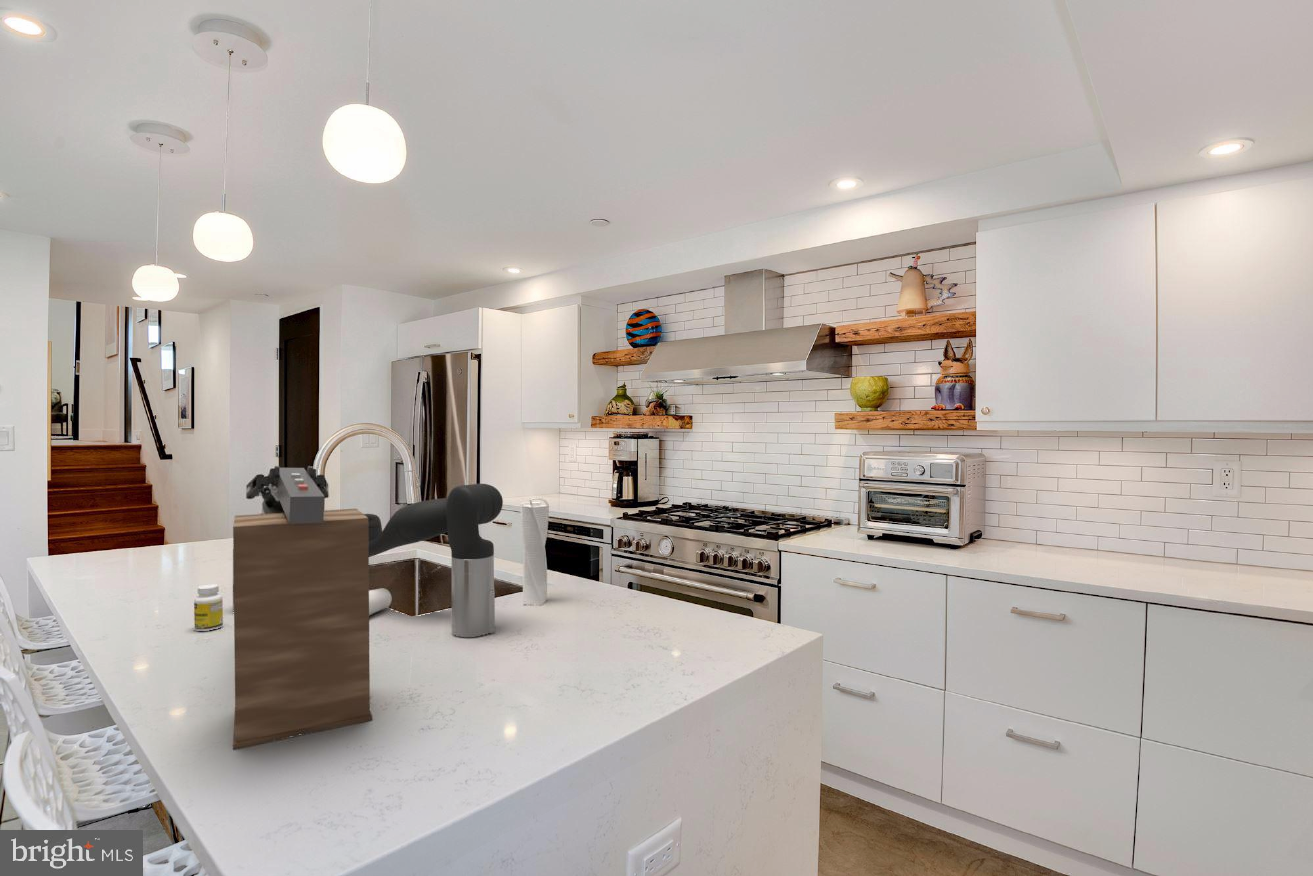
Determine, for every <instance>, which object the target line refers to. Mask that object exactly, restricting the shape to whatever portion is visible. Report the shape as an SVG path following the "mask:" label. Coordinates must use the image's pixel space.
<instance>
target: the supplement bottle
mask: <svg viewBox="0 0 1313 876" xmlns="http://www.w3.org/2000/svg"><path fill="white" fill-rule="evenodd" d="M219 588H220V587H219V584H213V583H212V584H204V585H203V584H202V585H200V586H198V587H197V595H198V596H196V597H195V598H194V601H193V607H194V611H193V613H194V614H193V615H194V630H195V631H196V632H198V631H208V632H210V631H209V630H213V629H217V630H219V629H218V628H220V627H221V628H223V625H224V617H223V615H224V614H223V613H224V612H223V610H224V608H223V604H224V603H223V595H222V594H221V593H219V590H220V589H219ZM221 628H220V629H221Z"/></svg>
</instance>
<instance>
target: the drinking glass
mask: <svg viewBox="0 0 1313 876" xmlns="http://www.w3.org/2000/svg"><path fill="white" fill-rule="evenodd" d="M391 603H392V595H391V592H390V591H389V590H388V589H386V588H383V587H381V588H376V589H369V616H372V615H373V614H376V613H378V612H380V611H383V610H386V609H388V608H389V607H390V605H391ZM385 608H386V609H385Z"/></svg>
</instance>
